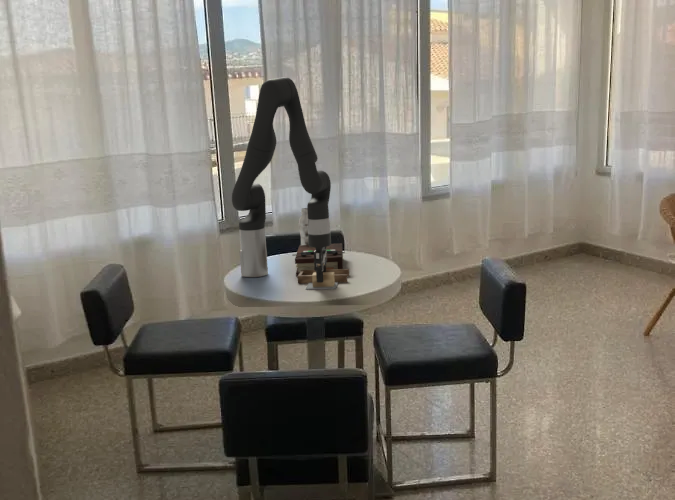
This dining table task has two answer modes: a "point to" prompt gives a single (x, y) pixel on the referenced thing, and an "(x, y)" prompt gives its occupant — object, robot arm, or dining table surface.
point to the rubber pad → (310, 287)
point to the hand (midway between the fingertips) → (321, 279)
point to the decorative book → (306, 257)
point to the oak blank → (327, 278)
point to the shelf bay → (339, 274)
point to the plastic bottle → (304, 226)
